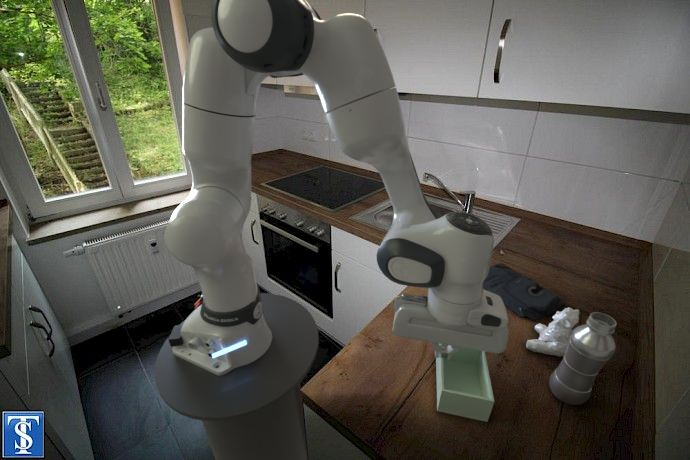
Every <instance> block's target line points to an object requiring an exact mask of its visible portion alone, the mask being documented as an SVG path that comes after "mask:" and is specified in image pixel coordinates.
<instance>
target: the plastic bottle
mask: <svg viewBox="0 0 690 460" xmlns="http://www.w3.org/2000/svg"><path fill="white" fill-rule="evenodd" d="M616 327H617V321H616V320H615V319H614V317H612V316H610V315H608V314H607V313H604V312H599V311H593V312H590V314H589V316H588V318H587V319H586V321H585V324H580V325H579V326H577V327H575V328H574V329H572V332H571V334H570V338H569V342H568V347H567V350H566V353H565V355H564V357H562V360H561V362H560V363H559V364H558V366H557V368H555V369H554V370H553V371H552V373H551V374H550V376H549V379H548V388H549V389H550V391H551V393H552V395H553V396H554V397H555V398H557V399H558V400H559V401H560V402H563V403H564V404H567V405H570V406H581V405H583V404H585V403H586V402H587V401H588V400H589V399H590V397H591V394H592V389H593V386H594V383H595V380H596V379H597V376H598V374H599V373H600V371H601V370H602V368H603V367H604V366H605V365H606V364H607V363H608V362H609V360H611V358H612V357H613V356H614V354H615V352H616V347H617V344H616V342H615V339H614V337H613V334H614V333H615V331H616V330H615V329H616Z"/></svg>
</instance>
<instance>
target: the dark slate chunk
mask: <svg viewBox="0 0 690 460" xmlns="http://www.w3.org/2000/svg"><path fill="white" fill-rule="evenodd" d="M483 289H484V290H486V291H489V292H491V293H494V294H496V295H498V296H500V297H501V299H502V301H503V303H504V305H505V307H506V308H508V309H509V310H510V311H511V312H513V313H515V314H516V315H517V316H519V317H522V318H526V317H527V318H528V319H530V320H531V321H535V320H539V319H541V318H542V317H545V316H548V315H551V314H553V313H556V312H557V311H558V309H559V308H560V307H561V306H563V305H564V304H565V302H564V300H563V299H562V298H561V297H560V296H559V295H557V294H555V293H554V292H552V291H550V290H548V289H547V288H545V287H544V286H541V285H540V284H539V283H538V282H536V281H535V280H533V279H532V278H530V277H528V276H527V275H523V274H521V273H520V272H517V271H516V270H513V268H511V267H510V266H508V265H507V264H505V263H502V262H500V263H496V264H491V265H490V269H489V273H488V276H487V278H486V279H485V280H484V282H483Z"/></svg>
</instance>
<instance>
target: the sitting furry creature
mask: <svg viewBox="0 0 690 460" xmlns="http://www.w3.org/2000/svg"><path fill="white" fill-rule="evenodd" d="M551 318H552V319H553V320H552V321H551V322H549V323H548V326H547V325H546V324H543V323H540V322H539V323H537V324H535V326H534V328H533V329H534V331H536V333H538V334H539V337H538V339H537V338H535V339H533V338H532V339H527V340H526V343H525V347H526V349H527V350H529V351H531V352H533V353H539V354H545V355H549V356H555V357H559V358H561V357H562V358H564V355H565V353H566V350H567V347H568V342H569V338H570V334H571V332H572V331H573V328H574V326H576V325H577V324H578V323H579V322H580V310H579V309H578V308H577V309H573V308H572V307H569V306H568V307H565V308H564V309H563V310H562V311H558V310H556V312H555V313H554V315H552V317H551Z"/></svg>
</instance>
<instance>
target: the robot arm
mask: <svg viewBox="0 0 690 460" xmlns="http://www.w3.org/2000/svg"><path fill="white" fill-rule="evenodd" d="M210 15H211V25H212V27H205V28H202V29H199V30H197V31H195V33H193V35H192V37H191V38H190V41H189V45H188V49H187V54H186V59H185V64H184V65H185V66H184V72H183V73H184V74H183V81H182V127H181V128H182V129H181V130H182V131H181V132H182V134H181V135H182V139H181V140H182V152H183V154H184V156H185V157H186V158H187V160H188V161H187V162H188V164H189V168H190V171H191V179H192V185H191V189H190V192H189V194H188V196H187V197H186V198H185V199H183V201H182V202H181V203H180V204H179V205H178V206H177V207H176V208H175V209H174V211H173V212H172V213H171V216H170V217H169V221H168V222H167V225H166V228H165V231H164V236H163V239H164V244H165V246H166V247H165V248H167V250H168V252H169V253H170V254H171V256H172V257H174V258H175V259H176V260H177V261H179V262H180V263H183V264H185V265H187V266H191V268H192V269H193V271H194V273H195V275H196V278H197V280H198V284H199V288H200V291H201V295H200V298H199V299H198V300H197V301H196V302H195V303H194V304H193V306H194V310H193V311H192V312H191V313H190V314H189V315H188V316H187V317H186V319H185V320H184V321H185V322H184V321H183V322H184V323H183V325H180V324H178V325H174V326H173V328H172V330H171V333H170V334H169V335H168V337H167V338H168V341H169V343H170V346H171V347H173V349H172V351H173V354H174V355H176V356H178V357H180V358H182V359H184V360H187V361H189V362H191V363H193V364H195V365H197V366H199V367H201V368H203V369H205V370H207V371H210V372H212V373H214V374H216V375H218V376H222V375H224V374H226V373H228V372H230V371H231V370H233V369H235V368H237V367H241V366H244V365H247V364H249V363H252V362H254V361H255V360H257V359H258V358H260V357H261V356H262V355H263V354H264V353H265V352H266V351H267V350H268V348H269V347H270V344H271V342H272V332H271V330H270V328H269V327H268V325H267V323H266V320H265V318H264V315H263V312H262V300H261V294H260V293H261V290H260V287H259V286H258V283H257V277H256V271H255V265H254V264H255V263H254V260H253V258H252V257H251V256H250V255H249V253H248V252H247V251H246V249H245V245H244V243H243V228H244V224H245V222H246V220H247V218H248V216H249V215H250V214H249V213H250V212H251V208H252V207H251V206H252V180H253V179H252V157H253V156H252V155H253V145H254V135H255V126H256V115H257V104H258V94H259V90H260V88H261V86H262V83H263V82H264V81H265V80H266V78H269V77H270V78H272V79H278V78H279V79H281V78H293V77H301V76H306V77H307V78H308V79H309V80H310V82H311V83H312V84H313V86H314V88H315V90H316V92H317V95H318V97H319V101H320V103H321V106H322V110H323V113H324V114H325V118H326V121H327V123H328V126H329V129H330V131H331V134H332V136H333V138H334V140H335V142H336V144H337V145H338V147H339V148H340V151H342V153H343V154H345V156H347V157H349V158H351V159H353V160H354V161H357V162H360V163H366V164H368V165H370V166H372V167H373V168H374V169H375V170H376V171H377V172H378V174H379V176H380V177H381V180H382V182H383V185H384V189H385V190H386V193H387V195H388V198H389V201H390V203H391V205H392V210H393V216H392V222H391V226H390V227H389V229H388V231H387V232H386V234H385V236H384V237H383V239H382V241H381V243H380V245H379V247H378V249H377V252H376V263H377V266H378V268H379V270H380V271H381V273H382V275H384V277H386V278H387V279H388V280H389V281H391V282H392V283H395V284H398V285H401V286H405V287H406V286H407V287H413V288H414V287H415V288H423V289H428V291H427V296H426V295H420V294H410V293H405V292H404V293H402V294H399V295H396V296H395V297H394V298H393V301H392V309H393V310H394V316H393V323H392V331H391V332H392V333H393V334H394V336H396V337H399V338H405V339H411V340H415V341H422V342H428V343H430V345H431V347H432V349H433V350H434V358H436V357H437V358H443V359H448V360H450V358H451V354H453V353H455V352H456V351H458V350H459V347H461V348H467V349H473V350H479V351H484V352H485V353H490V354H491V353H492V354H495V355H496V354H497V355H500V354H502V353H504V352H505V351H506V350H507V347H508V343H509V336H510V335H509V330H508V324H509V316H508V312H507V307H506V305H504V303H503V301H502V299H501V297H500V296H498V295H496V294H494V293H491V292H489V291H486V290H485V289H484V288H483V282H484V280H485V279H486V278H487V276H488V273H489V269H490V266H491V265H492V259H493V253H494V242H495V239H494V233H493V230H492V228H491V227H490V225H489V224H488V223H487V222H486V221H485V220H483V219H482V218H480V217H479V216H477V215H475V214H472V213H469V212H466V211H450V212H447V213H445V215H443V216H441V217H440V215H439V213H438V212H437V211H436V210H435V208H433V206H432V205H431V204H430V203H429V201H428V200H427V198H426V196H425V193H424V190H423V187H422V184H421V181H420V178H419V174H418V173H417V170H416V166H415V163H414V160H413V157H412V155H411V152H410V146H409V142H408V137H407V133H406V126H405V120H404V113H403V110H402V105H401V100H400V97H399V92H398V89H397V87H396V82H395V79H394V76H393V73H392V69H391V67H390V64H389V61H388V59H387V55H386V53H385V51H384V48H383V45H382V44H381V42H380V40H379V39H380V38H379V37H378V35H377V33H376V32H375V30H374V27H373V26H372V23H371V22H370V21H369V20H368V19H367V18H366V17H364V16H363V15H361V14H357V13H352V12H347V13H345V12H344V13H340V14H336V15H334V16H331V17H329V18H326V19H322V18H321V15H320V14H319V13H318V12H317V10H315V8H314V7H313V6H312V5H310V3H309V2H308V1H307V0H212V2H211V12H210ZM439 344H444V345H449V346H447V347H446V346H440V345H439ZM217 367H218V368H217Z"/></svg>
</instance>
